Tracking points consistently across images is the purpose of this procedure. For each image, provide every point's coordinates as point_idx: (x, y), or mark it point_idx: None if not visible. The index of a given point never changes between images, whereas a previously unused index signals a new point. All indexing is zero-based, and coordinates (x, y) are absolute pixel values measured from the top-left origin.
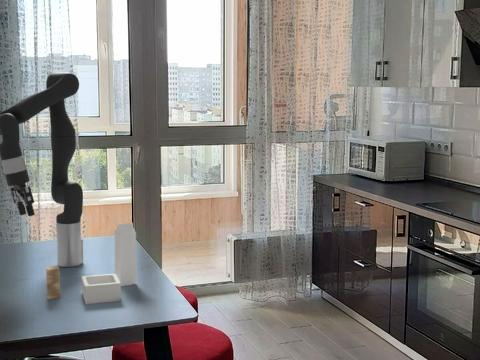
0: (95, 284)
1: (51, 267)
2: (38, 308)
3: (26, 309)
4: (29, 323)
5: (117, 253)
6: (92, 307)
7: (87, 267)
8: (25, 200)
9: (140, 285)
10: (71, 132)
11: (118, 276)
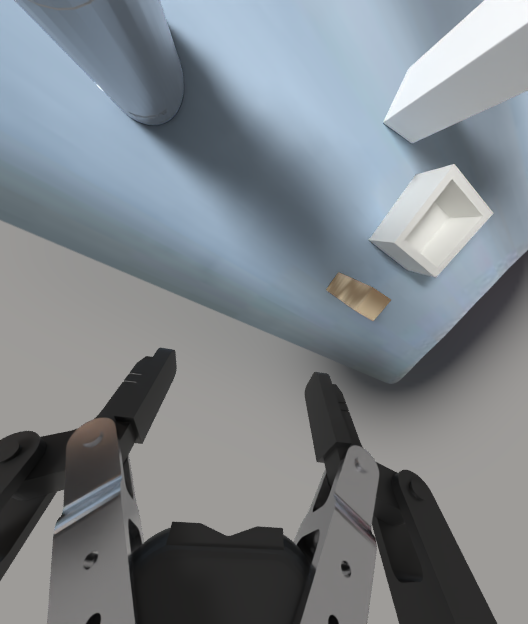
0: (448, 257)
1: (369, 305)
2: (358, 326)
3: (347, 338)
4: (385, 354)
5: (494, 82)
6: None
7: (217, 55)
8: (377, 537)
9: None
10: None
11: (421, 127)
